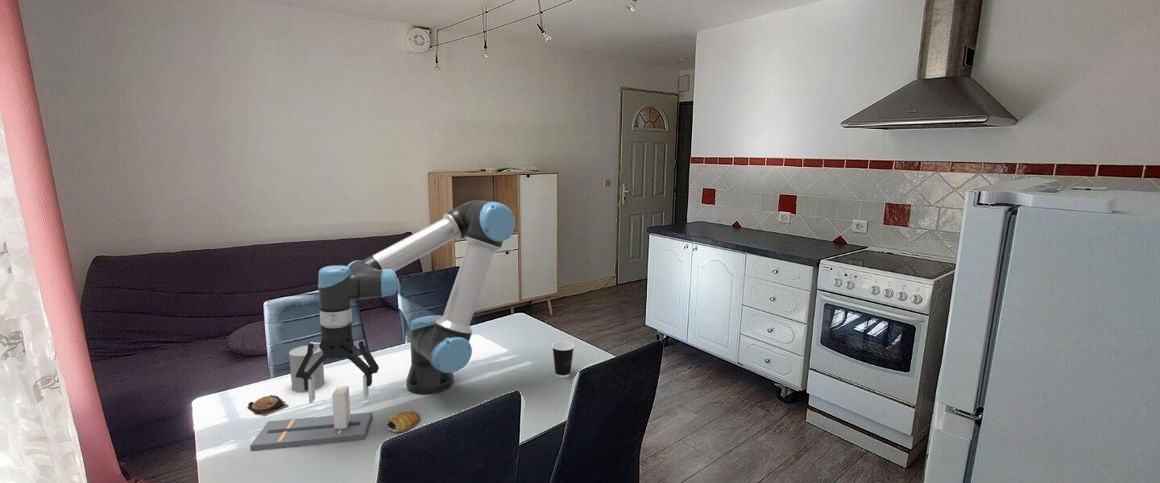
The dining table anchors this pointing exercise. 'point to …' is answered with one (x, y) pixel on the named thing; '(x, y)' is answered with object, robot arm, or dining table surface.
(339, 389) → the fader tab
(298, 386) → the grey concrete cylinder
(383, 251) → the robot arm
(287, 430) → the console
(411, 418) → the pastry
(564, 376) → the dixie cup
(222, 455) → the dining table surface
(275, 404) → the wood slice
